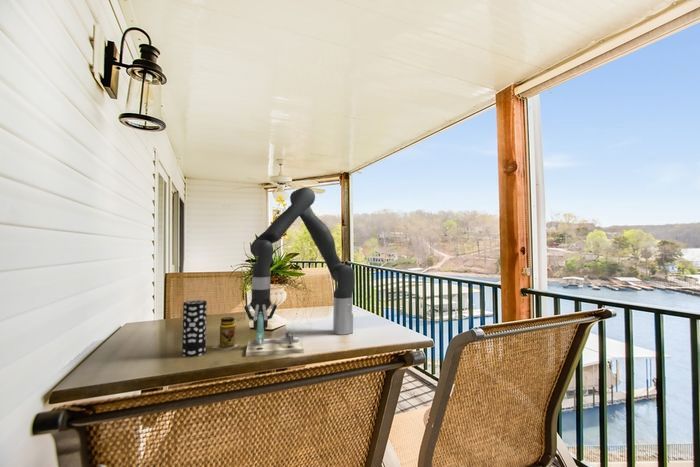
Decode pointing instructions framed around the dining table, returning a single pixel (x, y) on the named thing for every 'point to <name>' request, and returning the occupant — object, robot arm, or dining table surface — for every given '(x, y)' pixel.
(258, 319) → the sliding leg
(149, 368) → the dining table surface
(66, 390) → the dining table surface
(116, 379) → the dining table surface
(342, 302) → the robot arm
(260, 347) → the grey peg board
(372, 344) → the dining table surface
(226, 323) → the condiment
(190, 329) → the white-spotted black cylinder
